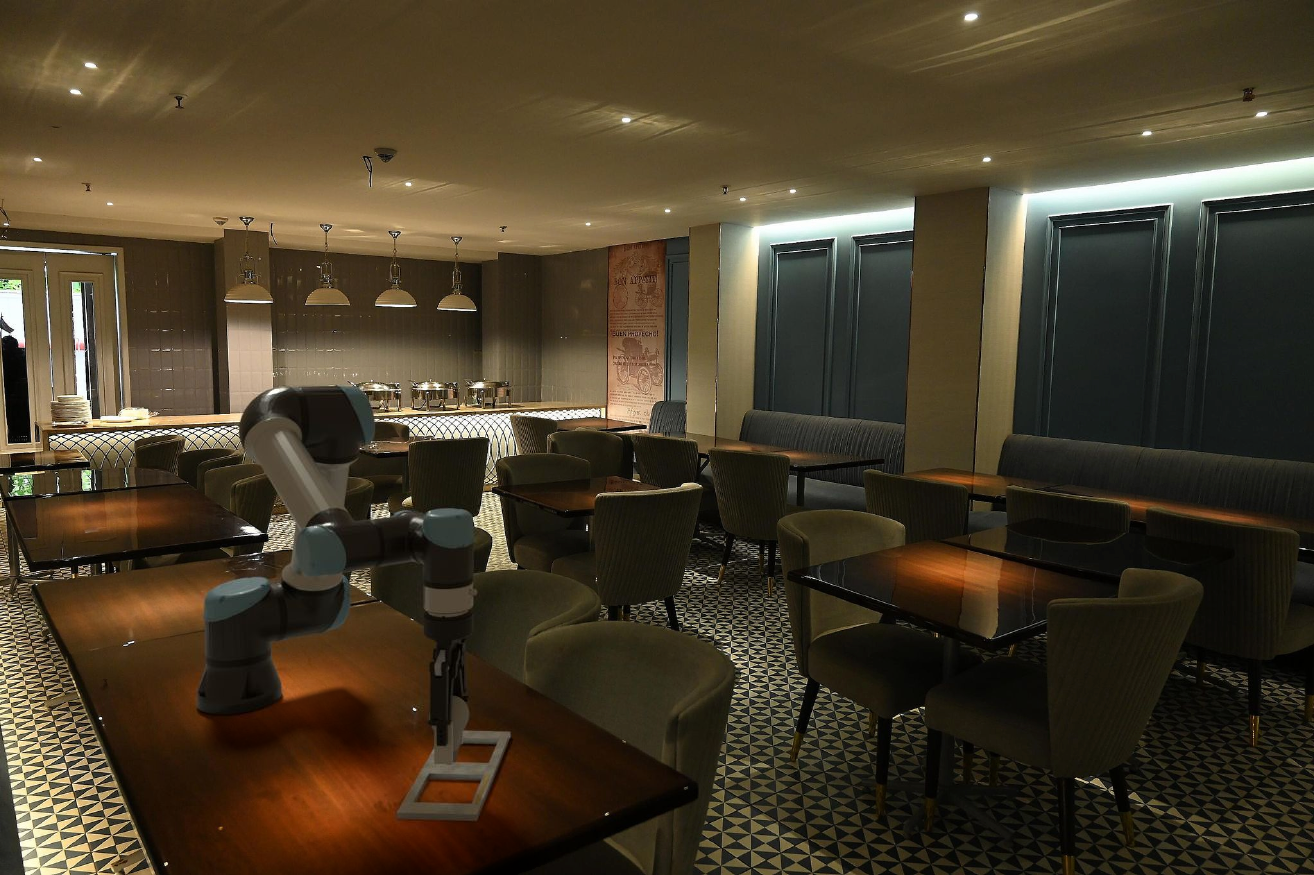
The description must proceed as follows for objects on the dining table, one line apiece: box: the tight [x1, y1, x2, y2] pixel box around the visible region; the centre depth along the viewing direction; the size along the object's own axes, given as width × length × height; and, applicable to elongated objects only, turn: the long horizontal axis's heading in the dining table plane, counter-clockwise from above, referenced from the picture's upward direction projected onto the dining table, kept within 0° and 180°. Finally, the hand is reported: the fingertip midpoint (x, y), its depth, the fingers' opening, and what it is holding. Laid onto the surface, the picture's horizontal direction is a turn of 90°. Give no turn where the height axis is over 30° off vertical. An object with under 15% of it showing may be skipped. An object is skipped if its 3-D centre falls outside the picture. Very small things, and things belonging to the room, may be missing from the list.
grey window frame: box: [396, 730, 511, 822], centre depth 142 cm, size 12×28×1 cm, turn 0°
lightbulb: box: [428, 696, 470, 765], centre depth 135 cm, size 6×6×11 cm
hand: (449, 752), depth 135 cm, fingers closed on lightbulb, 6 cm apart
